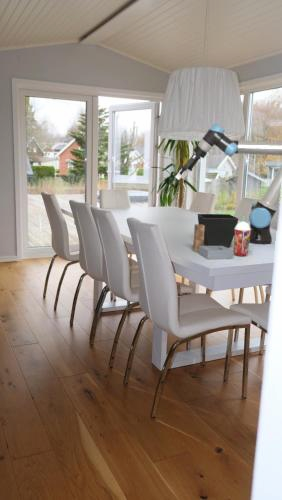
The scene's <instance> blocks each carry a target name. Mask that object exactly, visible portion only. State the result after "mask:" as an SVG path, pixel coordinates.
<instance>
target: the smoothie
mask: <svg viewBox="0 0 282 500" xmlns="http://www.w3.org/2000/svg"><path fill="white" fill-rule="evenodd" d="M234 229H235V230H234V237H233V254H234V256H237V257H247V254H248V251H249V246H250V242H249V241H250V234H251V228H250V223H248V222H246V221H245V215H243V216H242V221H240V222H239V221H238V224H237V225H236V227H235V228H234Z"/></svg>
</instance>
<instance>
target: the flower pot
mask: <svg viewBox="0 0 282 500" xmlns="http://www.w3.org/2000/svg"><path fill="white" fill-rule="evenodd" d="M238 223H239V218H238V217H236V216H234V215H231V214H227V213H226V214H223V213H222V214H221V213H214V214H213V213H197V224H202V225H204V226H205V228H204V243H203V246H224V247H226V248H230V247H231V245H232V242H233V241H234V230H235V229H234V228H235V227H236V225H237V224H238Z"/></svg>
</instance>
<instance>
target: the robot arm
mask: <svg viewBox="0 0 282 500" xmlns="http://www.w3.org/2000/svg"><path fill="white" fill-rule="evenodd" d="M225 132H226V131H225V129H223V127H221V126H220V125H218V124H217V123H214V124H212V126H211V127H210V128H209V129H208V130H207V132H206V133H205V134H204V135H203V137H202V138H201V139H199V142H198V143H197V144H198V145H196V146H195V147H194V148H193V152H194V153H193V154H192V155H191V157H189V159H188V160H187V161H186V162H185V163H184V164H183V165H181V169H180V170H179V172H177V174H176V175H175V179H177V180H178V181H179V180H180V179H182V180H184V179H186V177H187V175H188V174H189V173H190V172H192V171H193V168H194V167H195V166H196V164H197V163H198V161H199V160H200V159H201V158H202V159H205V157H206V156H207V154H208V153H209V152H210V151H211V150H212V148H213V147H214V146H216V147H217V148H218V149H220V150H221V151H222V152H223V153H224V154H225V155H226V156H228V157H230V158H231V157H233V156H234V155H236V154H238V155H239V154H240V155H241V154H242V155H265V156H269V155H270V156H282V141H274V140H273V141H268V140H267V141H265V140H232V139H230V138H229V137H228V136H226V135H225V134H224V133H225ZM281 180H282V164H281V166H280V167H279V168H278V171H277V173H276V175H275V176H274V178H273V179H272V181H271V183H270V185H269V187H268V189H267V190H266V192H265V193H264V195H263V197H262V198H261V199H258V200H257V202H253V203H252V204H251V207H250V208H251V210H250V211H251V212H250V213H249V216H248V218H249V219H248V220H249V226H250V228H251V234H250V241H249V244H259V245H268V244H269V245H270V244H272V241H273V238H272V233H271V230H270V229H271V221H272V219H273V217H274V216H275V214H276V212H277V206H278V204H279V202H280V200H279V197H280V188H281Z"/></svg>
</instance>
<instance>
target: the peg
mask: <svg viewBox="0 0 282 500" xmlns="http://www.w3.org/2000/svg"><path fill="white" fill-rule="evenodd" d="M204 228H205V226H204V225H202V224H198V223H197V224H196V223H195V224H194V229H193V231H194V232H193V244H192V251H193V252H194V253H198V252H199V246H204V244H203V243H204Z"/></svg>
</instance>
